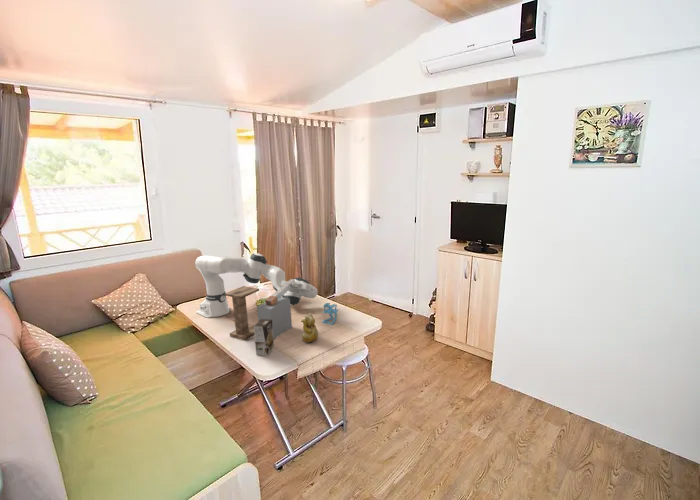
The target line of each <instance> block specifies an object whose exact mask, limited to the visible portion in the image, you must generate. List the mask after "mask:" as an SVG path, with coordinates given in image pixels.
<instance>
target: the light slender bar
mask: <svg viewBox="0 0 700 500" xmlns="http://www.w3.org/2000/svg"><path fill="white" fill-rule="evenodd" d="M291 283H295V280H294V278H293V279H292V278H290V279H289V280H288V282H287V283H286V284H284V285H283V286H282V287H281V288H280V289H279V290H277V291H276V290H275V292H273V294H272V295H271V294H270V295H269V296H268V297H266V299H265V300H264V301H265V302H266V305H271V306H273V305H274V304H275V303H276V302H277V301H278V299H279V298H280V297H282V296H283V295H284V294H285V293H286V292H288V290H289V289H290V288H292V287H293V286H292V285H291Z"/></svg>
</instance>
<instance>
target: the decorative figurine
mask: <svg viewBox="0 0 700 500" xmlns="http://www.w3.org/2000/svg"><path fill="white" fill-rule="evenodd" d="M300 322H301V323H303V325H302V326H303V327H302V329H303V333H302V335H301V341H303V342H306V343H308V344H311V343H313V342H315V341H317V339H318V337H319V331H318V328H317V326H316V325H315V324H316V318H315V317H314V315H313V314H312V313H311V312H309V313H308V315H304V318H303V319H301V321H300Z"/></svg>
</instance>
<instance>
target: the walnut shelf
mask: <svg viewBox="0 0 700 500" xmlns="http://www.w3.org/2000/svg"><path fill="white" fill-rule="evenodd" d="M259 291H260V288H258V287H251V286H246V285H243V286H240V287H237V288H235V289H233V290H230V291H228V292H226V293H225V296H226V297H231V298H232V300H231V301H232V308H233V310H232V311H233V316H234V326H235V329H234V330H233V331H231V332H230V333H229V337H231V338H234V339H237V340H241V341H245V342H246V341H247V340H249V339H251V338H253V337H255V334H254V325H255V324H250V323H249V318H248V317H249V316H248V310H247V299H246V297H248V296H250V295H253V294H255V293H257V292H259Z"/></svg>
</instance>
